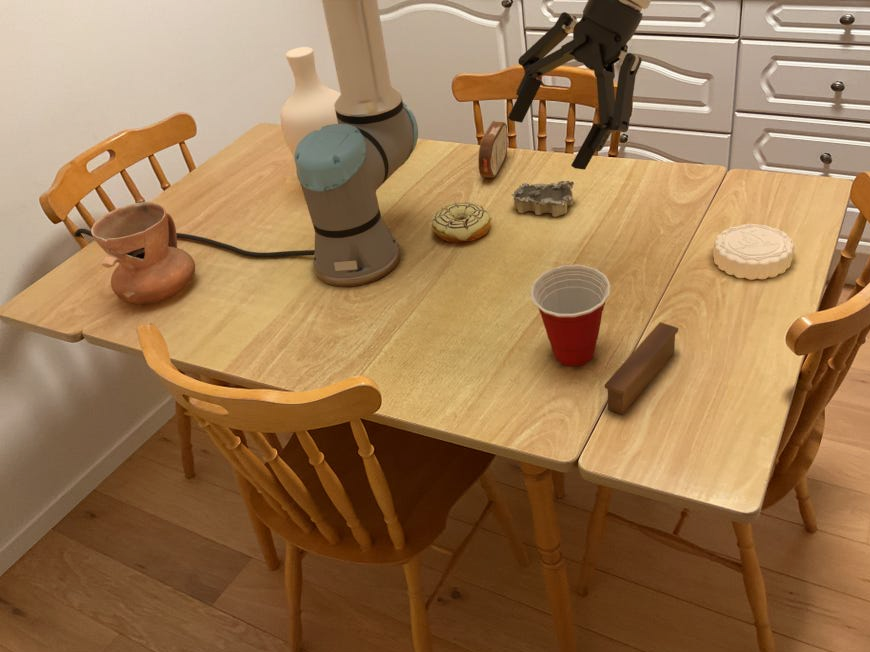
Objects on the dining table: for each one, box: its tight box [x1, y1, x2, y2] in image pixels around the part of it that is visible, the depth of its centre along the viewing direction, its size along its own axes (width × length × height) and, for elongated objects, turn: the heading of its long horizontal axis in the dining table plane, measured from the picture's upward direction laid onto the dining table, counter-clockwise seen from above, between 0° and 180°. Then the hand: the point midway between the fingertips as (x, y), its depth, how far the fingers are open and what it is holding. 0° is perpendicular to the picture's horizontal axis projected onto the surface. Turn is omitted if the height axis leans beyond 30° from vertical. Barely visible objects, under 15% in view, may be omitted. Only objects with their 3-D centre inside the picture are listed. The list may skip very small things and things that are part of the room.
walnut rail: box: [604, 321, 679, 416], centre depth 104 cm, size 3×15×4 cm, turn 142°
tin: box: [478, 120, 509, 179], centre depth 157 cm, size 15×3×8 cm, turn 164°
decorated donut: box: [430, 201, 492, 243], centre depth 141 cm, size 10×11×4 cm
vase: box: [279, 46, 341, 158], centre depth 154 cm, size 14×14×28 cm
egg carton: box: [511, 180, 575, 218], centre depth 144 cm, size 11×8×4 cm
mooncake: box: [712, 223, 795, 281], centre depth 123 cm, size 12×12×4 cm
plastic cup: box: [529, 264, 611, 367], centre depth 107 cm, size 11×11×12 cm
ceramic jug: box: [90, 201, 196, 305], centre depth 135 cm, size 18×14×14 cm
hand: (545, 143), depth 113 cm, fingers open, 13 cm apart
